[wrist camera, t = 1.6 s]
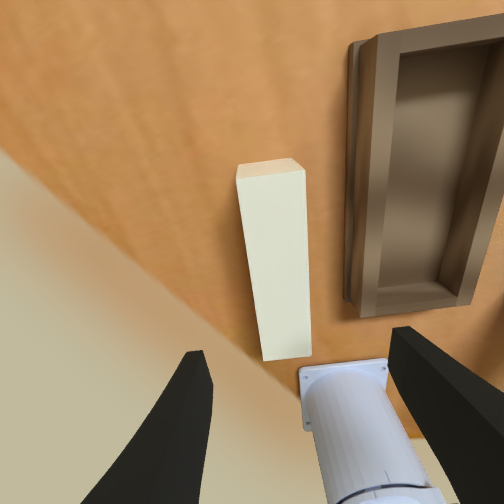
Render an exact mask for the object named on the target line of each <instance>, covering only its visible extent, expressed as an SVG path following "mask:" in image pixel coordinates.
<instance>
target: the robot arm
mask: <svg viewBox="0 0 504 504" xmlns="http://www.w3.org/2000/svg"><path fill="white" fill-rule="evenodd" d="M388 370H389V371H390V374H391V376H392V378H393V381H394V383H395V385H396V387H397V389H398V391H399V394H400V395H401V397H402V399H403V401H404V403H405V404H406V406H407V408H408V409H409V411H410V413H411V415H412V416H413V418H414V420H415V422H416V423H417V425H418V427H419V428H420V430H421V432H422V434H423V435H424V437H425V439H426V440H427V442H428V444H429V445H430V447H431V449H432V451H433V452H434V454H435V456H436V457H437V459H438V461H439V462H440V464H441V466H442V468H443V470H444V472H445V474H446V475H447V477H448V479H449V481H450V483H451V485H452V487H453V489H454V491H455V493H456V496H457V498H458V499H459V502H460V504H504V393H503V392H501V391H500V390H498V389H497V388H495V387H494V386H492V385H491V384H489V383H488V382H486V381H485V380H483V379H482V378H480V377H479V376H477V375H476V374H475V373H473V372H472V371H470V370H469V369H467V368H466V367H465V366H463V365H462V364H460V363H459V362H458V361H456V360H455V359H453V358H452V357H451V356H449V355H448V354H447V353H445V352H444V351H443V350H441V349H440V348H438V347H437V346H436V345H434V344H433V343H432V342H430V341H429V340H428V339H426V338H425V337H424V336H422V335H421V334H420V333H418V332H417V331H415V330H414V329H413V328H411V327H410V326H406V327H397V328H393V329H392V336H391V343H390V350H389V357H388V360H387V359H386V358H378V359H369V360H360V361H352V362H343V363H334V364H325V365H316V366H307V367H302V368H300V369H299V383H300V395H301V406H302V418H303V428H304V430H305V431H312V432H313V437H314V441H315V446H316V450H317V455H318V460H319V465H320V469H321V474H322V478H323V484H324V488H325V493H326V497H327V502H328V504H447V503H446V502H445V500H444V498H443V496H442V494H441V492H440V490H439V488H438V487H434V486H433V484H432V482H431V481H430V479H429V477H428V475H427V473H426V471H425V469H424V467H423V465H422V463H421V461H420V459H419V457H418V455H417V453H416V451H415V449H414V447H413V446H412V443H411V441H410V439H409V437H408V435H407V434H406V432H405V430H404V428H403V426H402V424H401V422H400V420H399V418H398V416H397V414H396V412H395V410H394V408H393V406H392V404H391V402H390V400H389V398H388V396H387V394H386V392H385V391H386V384H387V377H388ZM212 403H213V383H212V379H211V376H210V373H209V369H208V366H207V363H206V360H205V357H204V353H203V350H200V351H190V352H187V353H186V354H185V355H184V357H183V359H182V360H181V362H180V364H179V366H178V367H177V369H176V371H175V373H174V374H173V376H172V378H171V379H170V381H169V383H168V384H167V386H166V388H165V389H164V391H163V393H162V394H161V396H160V397H159V399H158V401H157V402H156V404H155V405H154V407H153V408H152V410H151V411H150V413H149V414H148V416H147V417H146V419H145V420H144V422H143V423H142V425H141V426H140V428H139V429H138V430H137V432H136V434H135V435H134V436H133V438H132V439H131V440H130V442H129V443H128V445H127V446H126V447H125V449H124V450H123V451H122V453H121V454H120V455H119V457H118V458H117V459H116V461H115V462H114V463H113V464H112V466H111V467H110V468H109V469H108V471H107V472H106V473H105V475H104V476H103V477H102V478H101V479H100V481H99V482H98V483H97V484H96V485H95V487H94V488H93V489H92V490H91V491H90V493H89V494H88V495H87V496H86V497H85V499H84V500H83V501H82V502H81V503H80V504H199V495H200V487H201V480H202V474H203V467H204V461H205V455H206V449H207V442H208V436H209V429H210V423H211V416H212ZM453 504H457V503H453Z"/></svg>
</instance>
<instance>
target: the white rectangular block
mask: <svg viewBox="0 0 504 504" xmlns="http://www.w3.org/2000/svg"><path fill="white" fill-rule="evenodd" d="M236 185H237V191H238V198H239V204H240V211H241V218H242V224H243V231H244V237H245V244H246V250H247V257H248V263H249V270H250V276H251V283H252V289H253V296H254V302H255V309H256V315H257V322H258V328H259V335H260V341H261V348H262V354H263V361H270V360H279V359H288V358H298V357H307V356H312V352H311V323H310V294H309V266H308V237H307V208H306V179H305V169H303V168H302V167H301V166H300V165H299V164H298V163H297V162H295V161H294V160H293V159H292V158H285V159H277V160H270V161H263V162H255V163H248V164H241V165H238V169H237V174H236Z"/></svg>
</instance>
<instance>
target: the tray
mask: <svg viewBox="0 0 504 504" xmlns="http://www.w3.org/2000/svg"><path fill="white" fill-rule="evenodd" d="M503 195H504V13H502V14H496V15H490V16H484V17H478V18H472V19H466V20H460V21H454V22H448V23H442V24H436V25H430V26H424V27H418V28H412V29H406V30H400V31H394V32H388V33H382V34H378V35H376V36H374V37H373V38H371V39H367V40H361V41H355V42H353V43H351V44H350V45H349V86H348V128H347V170H346V211H345V253H344V295H343V298H344V300H345V302H346V303H348V302H351V303H352V304H353V306H354V308H355V310H356V311H357V313H358V315H359V317H360V318H365V317H373V316H382V315H390V314H398V313H406V312H415V311H423V310H431V309H440V308H448V307H456V306H465V305H471V301H472V298H473V295H474V291H475V288H476V285H477V281H478V278H479V275H480V271H481V268H482V265H483V261H484V258H485V255H486V251H487V248H488V245H489V241H490V238H491V235H492V231H493V228H494V225H495V221H496V218H497V215H498V211H499V208H500V205H501V201H502V198H503Z"/></svg>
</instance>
